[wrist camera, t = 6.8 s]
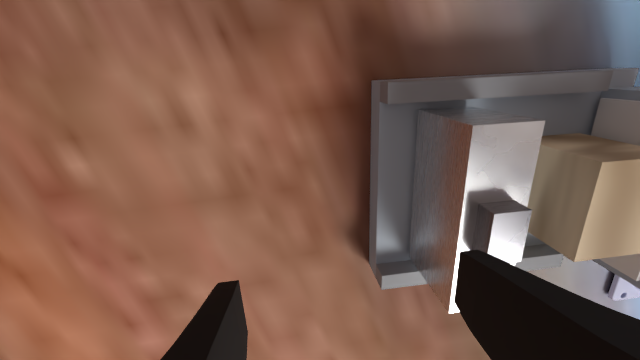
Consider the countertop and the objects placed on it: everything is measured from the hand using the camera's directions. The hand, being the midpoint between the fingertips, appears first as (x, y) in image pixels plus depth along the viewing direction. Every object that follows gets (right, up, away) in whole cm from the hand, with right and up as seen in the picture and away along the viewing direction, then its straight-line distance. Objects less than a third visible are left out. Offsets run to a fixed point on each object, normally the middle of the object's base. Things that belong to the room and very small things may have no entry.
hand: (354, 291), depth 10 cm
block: (+12, +4, +9) cm, 16 cm away
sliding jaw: (+6, +3, +8) cm, 10 cm away
